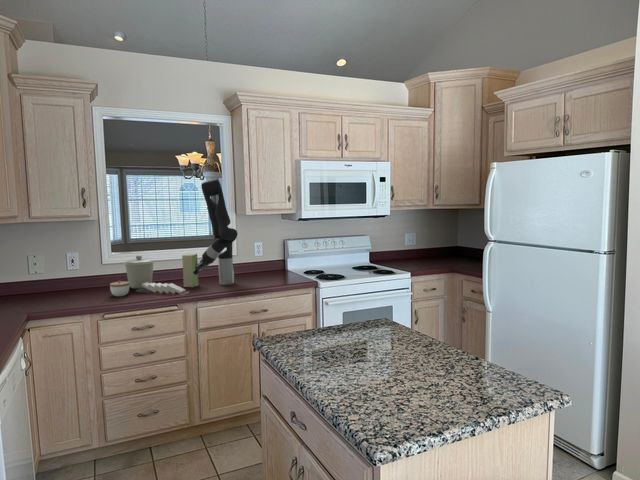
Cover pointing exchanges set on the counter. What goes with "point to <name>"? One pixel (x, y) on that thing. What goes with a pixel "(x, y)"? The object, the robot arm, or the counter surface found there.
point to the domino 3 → (154, 287)
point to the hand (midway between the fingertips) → (194, 273)
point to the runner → (168, 293)
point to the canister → (139, 271)
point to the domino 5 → (167, 288)
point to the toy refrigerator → (189, 270)
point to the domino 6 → (175, 288)
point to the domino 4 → (160, 287)
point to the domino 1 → (143, 290)
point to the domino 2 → (148, 287)
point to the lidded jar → (119, 288)
